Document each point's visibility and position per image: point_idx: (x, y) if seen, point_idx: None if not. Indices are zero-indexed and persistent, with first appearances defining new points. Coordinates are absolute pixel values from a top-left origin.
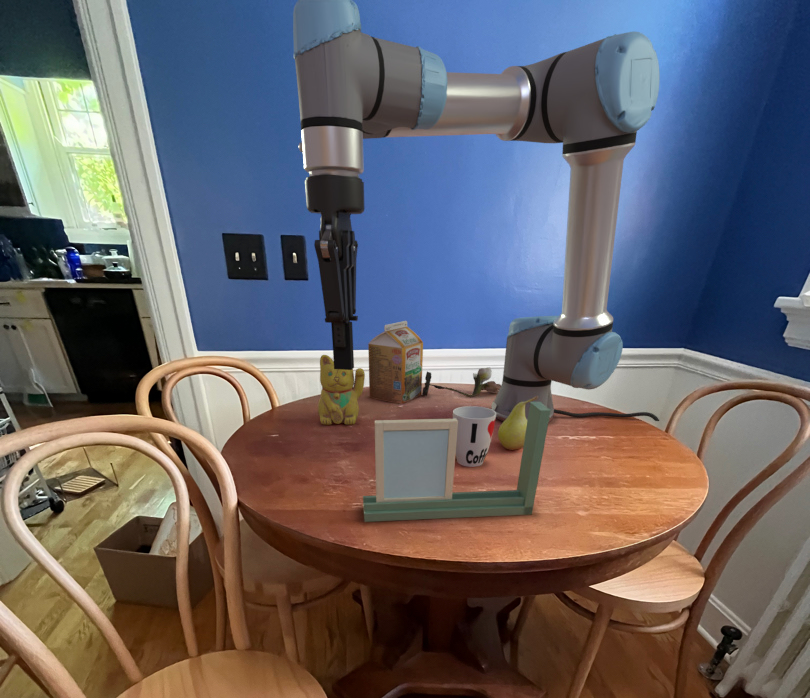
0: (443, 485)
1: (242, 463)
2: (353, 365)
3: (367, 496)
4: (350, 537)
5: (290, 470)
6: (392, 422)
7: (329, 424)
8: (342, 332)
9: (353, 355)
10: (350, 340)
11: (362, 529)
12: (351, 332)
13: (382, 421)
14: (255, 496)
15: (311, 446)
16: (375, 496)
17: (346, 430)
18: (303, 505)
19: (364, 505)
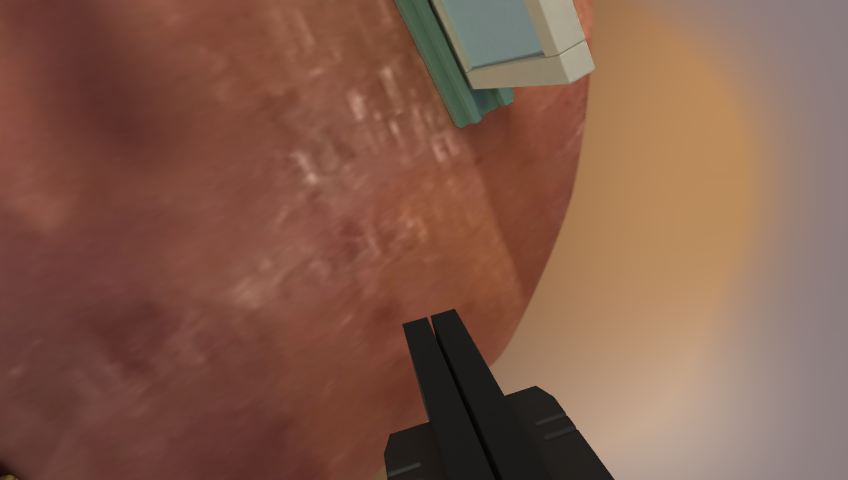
0: None
1: (369, 464)
2: (412, 328)
3: (474, 112)
4: (568, 96)
5: (353, 368)
6: (573, 5)
7: (14, 477)
8: (592, 453)
9: (414, 357)
10: (497, 400)
11: (534, 87)
12: (472, 449)
13: (573, 49)
14: (486, 347)
15: (199, 416)
16: (468, 93)
17: (19, 415)
18: (486, 248)
19: (512, 100)
